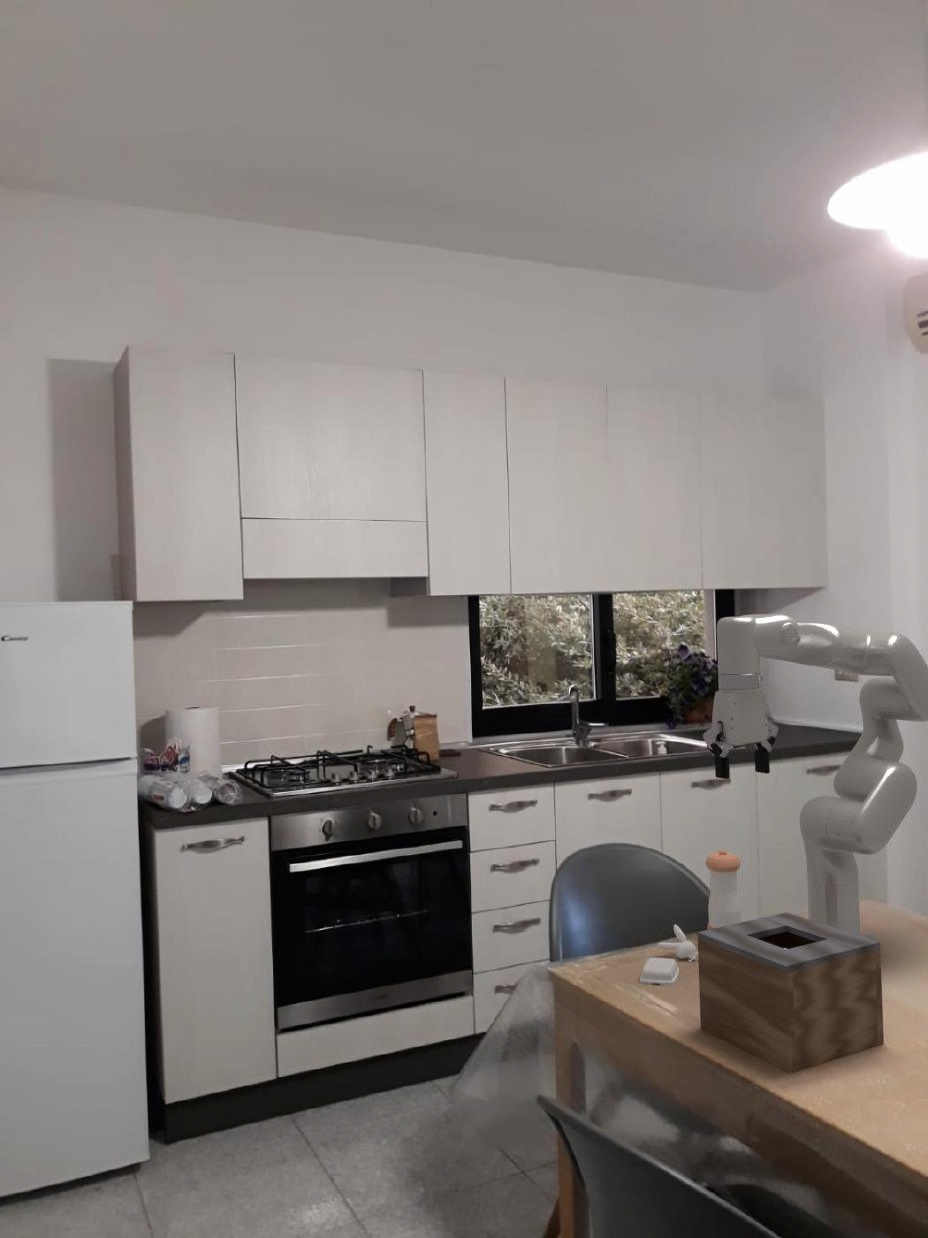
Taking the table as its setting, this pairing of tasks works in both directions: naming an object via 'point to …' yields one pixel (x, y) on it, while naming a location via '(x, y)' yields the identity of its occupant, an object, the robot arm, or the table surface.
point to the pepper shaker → (723, 890)
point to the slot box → (791, 990)
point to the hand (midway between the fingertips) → (742, 775)
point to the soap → (660, 972)
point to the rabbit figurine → (680, 946)
